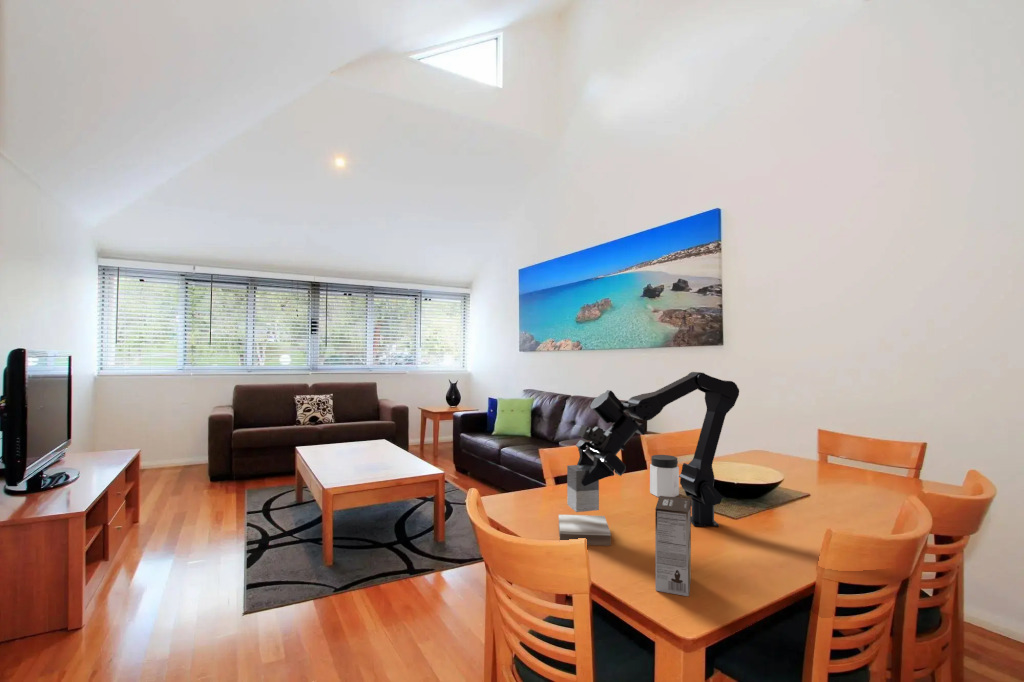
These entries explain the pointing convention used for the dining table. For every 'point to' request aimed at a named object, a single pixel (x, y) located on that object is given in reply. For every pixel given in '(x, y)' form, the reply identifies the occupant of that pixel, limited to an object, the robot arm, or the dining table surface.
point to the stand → (585, 529)
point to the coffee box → (673, 545)
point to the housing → (581, 489)
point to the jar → (664, 476)
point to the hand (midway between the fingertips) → (577, 481)
